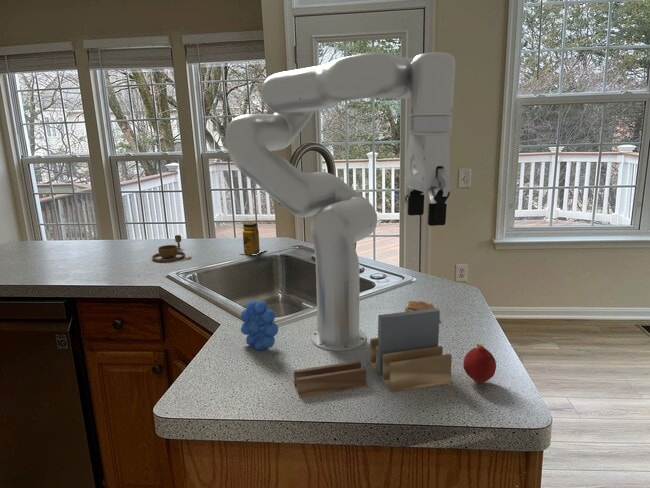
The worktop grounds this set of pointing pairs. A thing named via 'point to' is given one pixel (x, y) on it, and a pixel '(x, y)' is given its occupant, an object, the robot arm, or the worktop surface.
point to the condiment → (250, 238)
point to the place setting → (170, 252)
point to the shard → (418, 306)
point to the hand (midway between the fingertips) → (425, 219)
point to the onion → (479, 364)
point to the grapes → (259, 325)
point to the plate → (407, 332)
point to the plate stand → (329, 379)
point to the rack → (413, 367)
